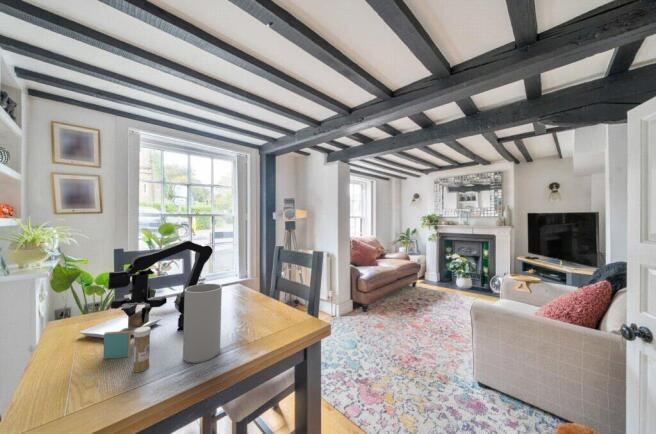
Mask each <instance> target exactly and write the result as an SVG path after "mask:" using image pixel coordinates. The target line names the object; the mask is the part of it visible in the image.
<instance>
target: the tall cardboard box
mask: <svg viewBox="0 0 656 434" xmlns="http://www.w3.org/2000/svg"><path fill="white" fill-rule="evenodd" d="M149 316H150V313H149V314H148V317H147V319H146V321H145V323H143V322H142V309H141V310H140V309H139V311H137V312H136V313H135V314H133V315H131V316H130V317H128V328H124V329H122V330H121V331H131V336H134V330H136V329H137V328H140V327H142V326H143V325H145V324H146V323H147V322H149Z"/></svg>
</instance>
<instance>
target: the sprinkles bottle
mask: <svg viewBox="0 0 656 434" xmlns="http://www.w3.org/2000/svg"><path fill="white" fill-rule="evenodd" d="M151 330H152V329H151V326H150V327H140V328H137V329H136V330H134V335H133V338H134V339H133V356H132V357H133V364H132V365H133V368H132V372H134V373H141V372H144V371H146V370H148V369H149V368H150V354H151V353H150V352H151V349H150V347H151V345H150V344H151V343H150V342H151V341H150V339H151Z"/></svg>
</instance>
